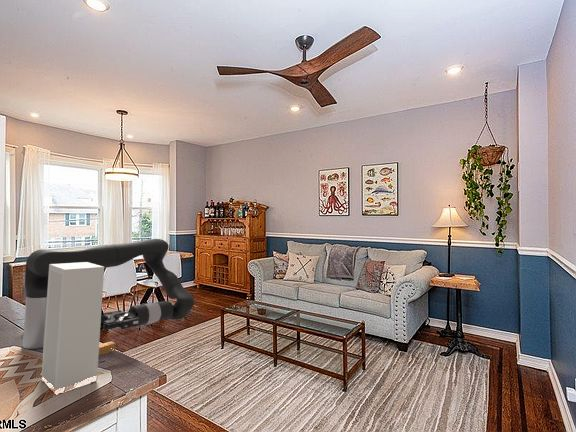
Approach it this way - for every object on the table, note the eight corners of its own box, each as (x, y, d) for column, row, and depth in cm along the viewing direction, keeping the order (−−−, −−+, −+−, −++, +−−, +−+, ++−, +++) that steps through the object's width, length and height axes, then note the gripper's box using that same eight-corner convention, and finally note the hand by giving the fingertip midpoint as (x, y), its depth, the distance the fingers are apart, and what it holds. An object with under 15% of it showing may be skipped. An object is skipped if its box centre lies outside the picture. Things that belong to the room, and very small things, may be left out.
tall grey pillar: (41, 379, 87) (49, 264, 88) (79, 368, 94) (87, 262, 95) (55, 395, 79) (64, 269, 80) (96, 381, 87) (104, 266, 88)
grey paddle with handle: (45, 362, 97) (45, 354, 97) (106, 345, 112) (107, 338, 112) (56, 372, 91) (56, 364, 91) (119, 353, 105) (120, 346, 106)
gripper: (154, 328, 113) (106, 340, 100) (134, 320, 121) (88, 330, 108) (155, 307, 113) (108, 317, 100) (136, 300, 122) (89, 308, 109)
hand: (97, 323), depth 104 cm, fingers open, 8 cm apart
